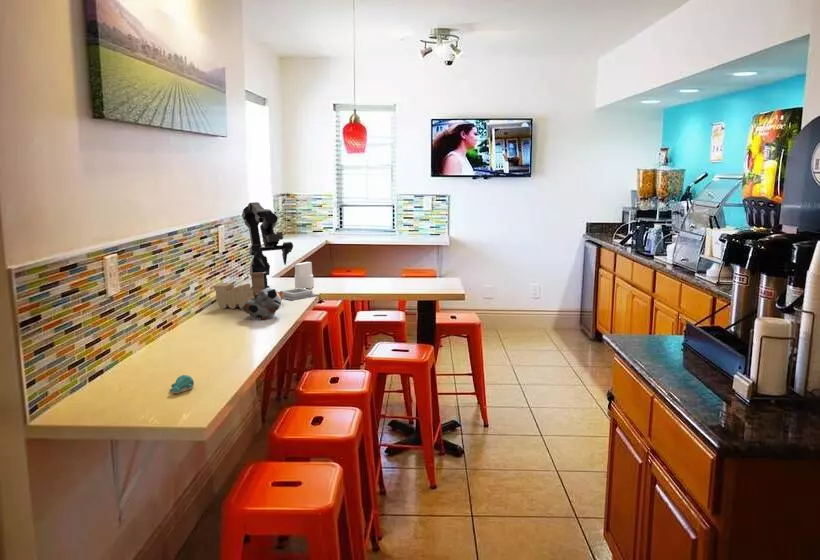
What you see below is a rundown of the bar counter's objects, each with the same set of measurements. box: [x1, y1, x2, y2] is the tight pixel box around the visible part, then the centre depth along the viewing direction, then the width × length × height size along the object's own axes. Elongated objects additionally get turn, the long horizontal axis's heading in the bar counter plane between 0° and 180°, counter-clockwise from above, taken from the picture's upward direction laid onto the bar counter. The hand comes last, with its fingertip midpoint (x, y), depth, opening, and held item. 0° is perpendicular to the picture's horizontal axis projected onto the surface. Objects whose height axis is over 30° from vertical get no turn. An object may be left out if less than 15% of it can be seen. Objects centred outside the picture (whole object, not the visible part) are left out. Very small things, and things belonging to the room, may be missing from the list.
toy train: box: [212, 282, 255, 310], centre depth 268 cm, size 6×17×10 cm, turn 71°
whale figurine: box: [168, 374, 195, 394], centre depth 166 cm, size 6×7×4 cm
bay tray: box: [282, 288, 319, 301], centre depth 290 cm, size 14×14×2 cm
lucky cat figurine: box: [240, 287, 284, 321], centre depth 248 cm, size 15×12×14 cm
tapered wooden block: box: [250, 272, 265, 296], centre depth 280 cm, size 5×5×12 cm
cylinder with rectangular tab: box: [293, 261, 315, 289], centre depth 310 cm, size 9×9×12 cm
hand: (275, 265), depth 284 cm, fingers open, 9 cm apart
